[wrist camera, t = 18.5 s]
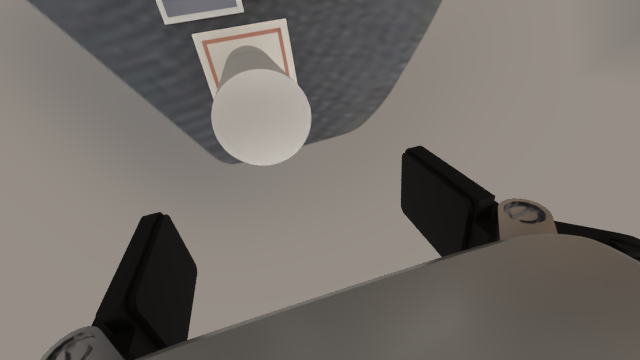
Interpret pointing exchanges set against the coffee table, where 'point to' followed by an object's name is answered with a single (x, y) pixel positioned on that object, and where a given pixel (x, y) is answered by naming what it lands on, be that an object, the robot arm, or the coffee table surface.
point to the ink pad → (196, 9)
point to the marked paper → (260, 35)
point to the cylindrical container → (259, 109)
